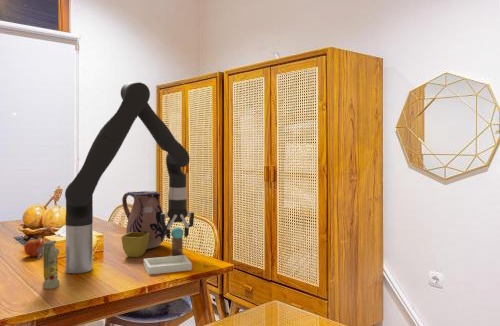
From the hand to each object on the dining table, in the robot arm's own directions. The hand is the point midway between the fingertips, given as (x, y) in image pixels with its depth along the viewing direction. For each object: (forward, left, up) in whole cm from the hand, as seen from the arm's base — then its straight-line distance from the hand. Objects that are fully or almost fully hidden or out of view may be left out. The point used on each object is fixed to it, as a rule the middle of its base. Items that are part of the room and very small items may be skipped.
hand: (177, 237), depth 176 cm
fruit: (-55, +20, -8) cm, 59 cm away
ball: (0, 0, +2) cm, 2 cm away
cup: (0, 0, -8) cm, 8 cm away
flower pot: (-16, +7, -8) cm, 19 cm away
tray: (-7, -14, -8) cm, 18 cm away
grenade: (-48, -22, -8) cm, 53 cm away
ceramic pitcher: (-11, +21, -8) cm, 25 cm away
